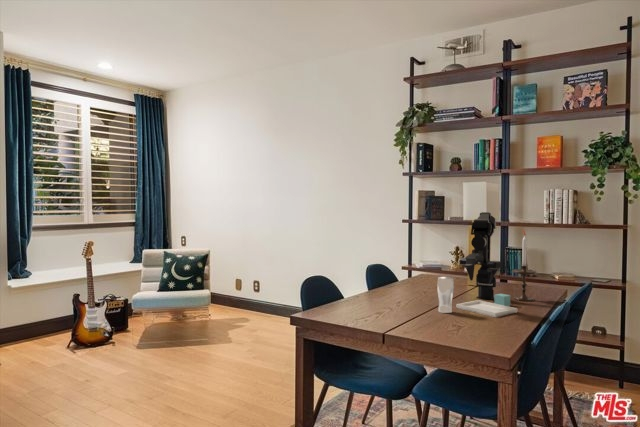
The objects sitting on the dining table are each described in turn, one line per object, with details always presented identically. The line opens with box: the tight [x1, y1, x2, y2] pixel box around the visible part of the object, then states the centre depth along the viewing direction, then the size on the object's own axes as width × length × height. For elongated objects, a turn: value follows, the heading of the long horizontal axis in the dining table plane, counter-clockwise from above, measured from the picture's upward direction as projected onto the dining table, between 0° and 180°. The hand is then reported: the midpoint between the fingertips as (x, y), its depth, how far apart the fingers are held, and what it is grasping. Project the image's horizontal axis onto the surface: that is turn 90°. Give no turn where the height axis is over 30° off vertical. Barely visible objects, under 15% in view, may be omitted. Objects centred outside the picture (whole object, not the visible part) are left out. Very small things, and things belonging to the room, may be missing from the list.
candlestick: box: [511, 229, 537, 302], centre depth 224 cm, size 11×11×35 cm
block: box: [493, 293, 511, 307], centre depth 210 cm, size 5×5×5 cm
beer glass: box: [436, 276, 455, 314], centre depth 197 cm, size 7×7×15 cm
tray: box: [456, 299, 518, 318], centre depth 200 cm, size 20×16×2 cm
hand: (480, 281), depth 203 cm, fingers open, 9 cm apart
